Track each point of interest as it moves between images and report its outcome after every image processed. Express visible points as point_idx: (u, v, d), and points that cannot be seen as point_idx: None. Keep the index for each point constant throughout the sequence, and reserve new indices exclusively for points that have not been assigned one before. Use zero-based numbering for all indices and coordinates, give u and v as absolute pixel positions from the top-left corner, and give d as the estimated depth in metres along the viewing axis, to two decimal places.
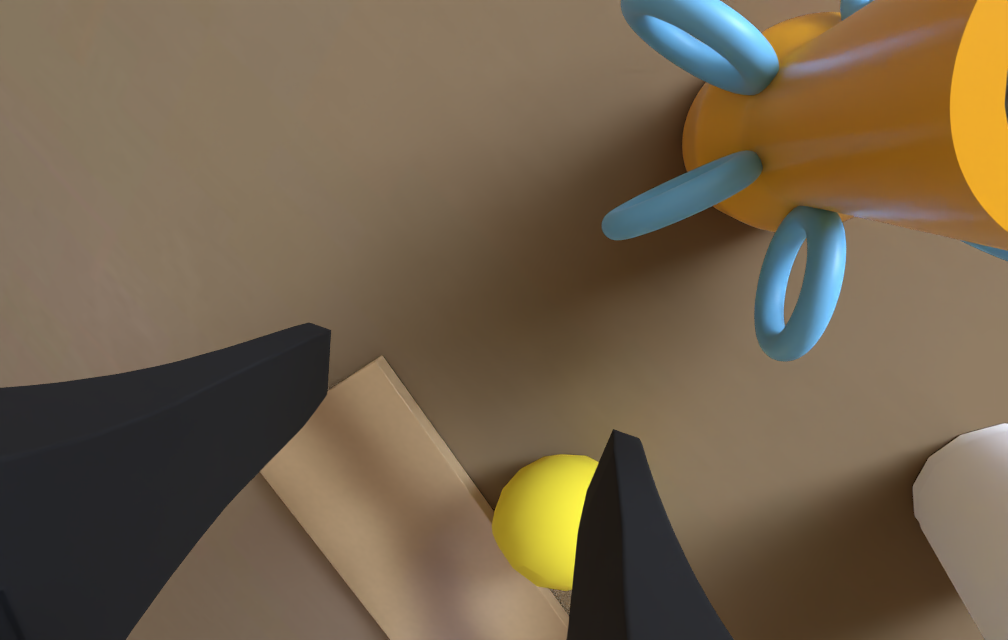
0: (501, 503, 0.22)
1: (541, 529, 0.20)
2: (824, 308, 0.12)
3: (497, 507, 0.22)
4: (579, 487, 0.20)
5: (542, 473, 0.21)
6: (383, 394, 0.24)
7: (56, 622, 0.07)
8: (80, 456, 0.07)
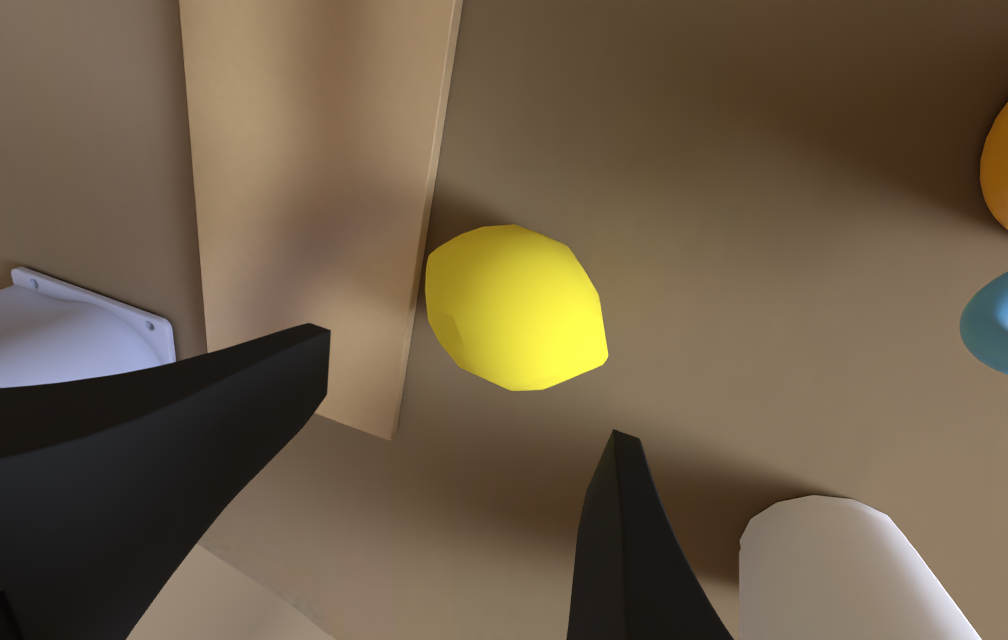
0: (472, 239, 0.16)
1: (507, 299, 0.15)
2: None
3: (462, 239, 0.16)
4: (574, 294, 0.15)
5: (546, 249, 0.16)
6: None
7: (56, 622, 0.07)
8: (80, 456, 0.07)
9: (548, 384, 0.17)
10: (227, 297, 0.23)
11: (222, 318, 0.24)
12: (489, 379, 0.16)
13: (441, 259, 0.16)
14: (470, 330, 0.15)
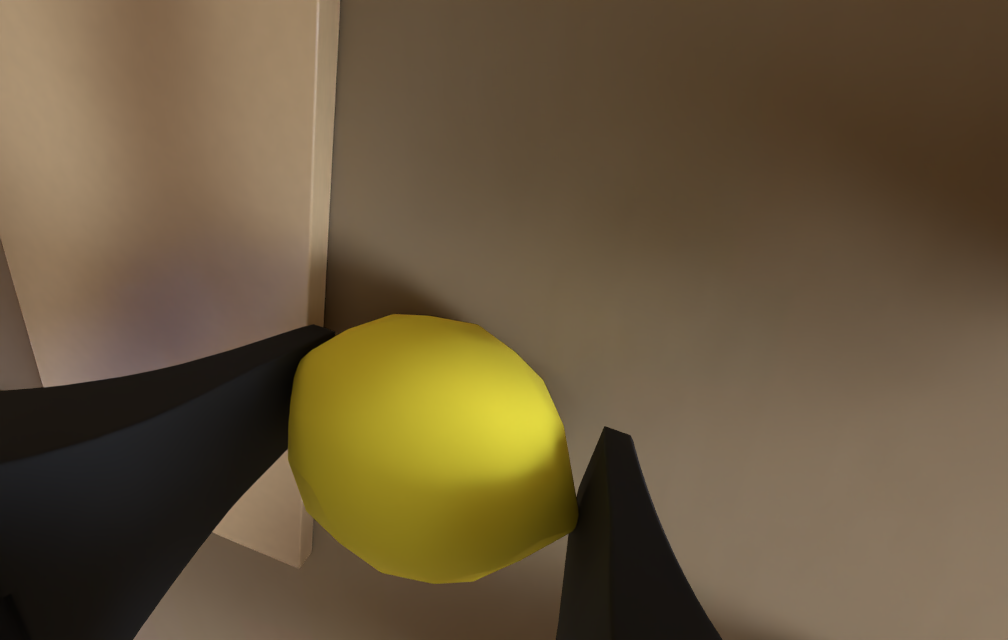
0: (354, 348, 0.10)
1: (396, 468, 0.09)
2: None
3: (340, 345, 0.10)
4: (517, 447, 0.09)
5: (472, 368, 0.10)
6: None
7: (63, 625, 0.07)
8: (87, 459, 0.07)
9: (481, 576, 0.10)
10: (70, 382, 0.17)
11: None
12: (384, 572, 0.10)
13: (305, 379, 0.10)
14: (340, 511, 0.09)
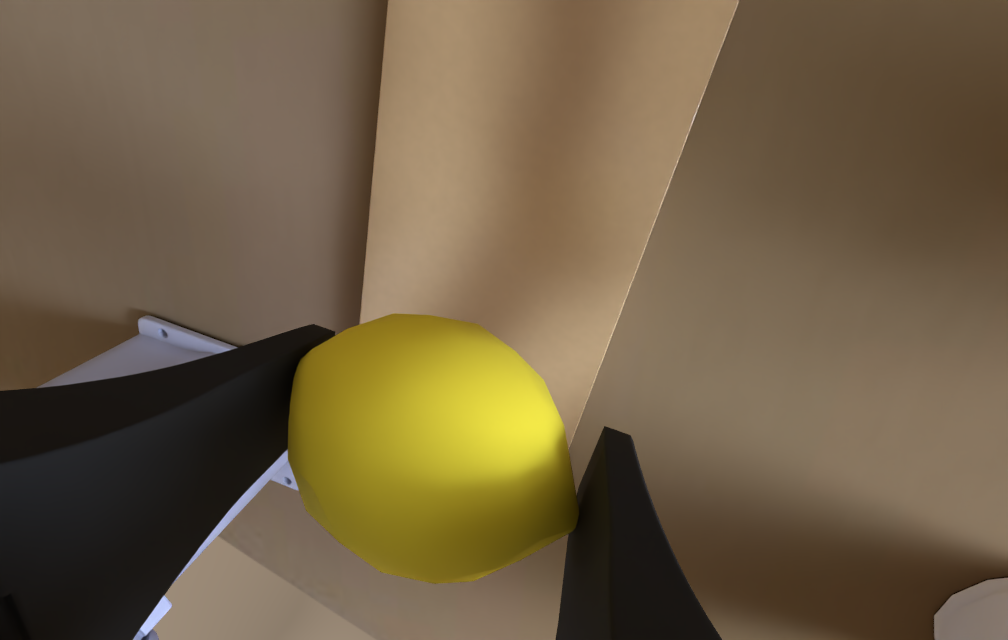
0: (354, 347, 0.10)
1: (397, 467, 0.09)
2: None
3: (340, 345, 0.10)
4: (517, 447, 0.09)
5: (472, 367, 0.09)
6: (691, 56, 0.14)
7: (62, 625, 0.07)
8: (87, 459, 0.07)
9: (481, 575, 0.10)
10: None
11: None
12: (385, 572, 0.10)
13: (305, 378, 0.10)
14: (340, 511, 0.09)
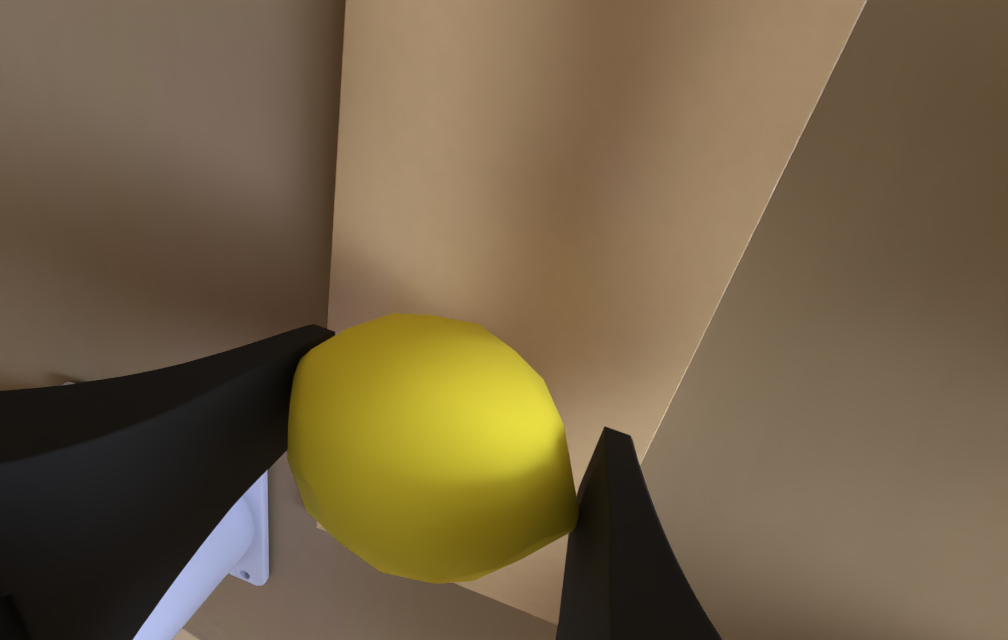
0: (353, 347, 0.10)
1: (396, 467, 0.09)
2: None
3: (340, 345, 0.10)
4: (517, 447, 0.09)
5: (472, 367, 0.09)
6: (788, 77, 0.10)
7: (62, 625, 0.07)
8: (87, 459, 0.07)
9: (481, 575, 0.10)
10: None
11: None
12: (384, 572, 0.10)
13: (304, 378, 0.10)
14: (339, 511, 0.09)
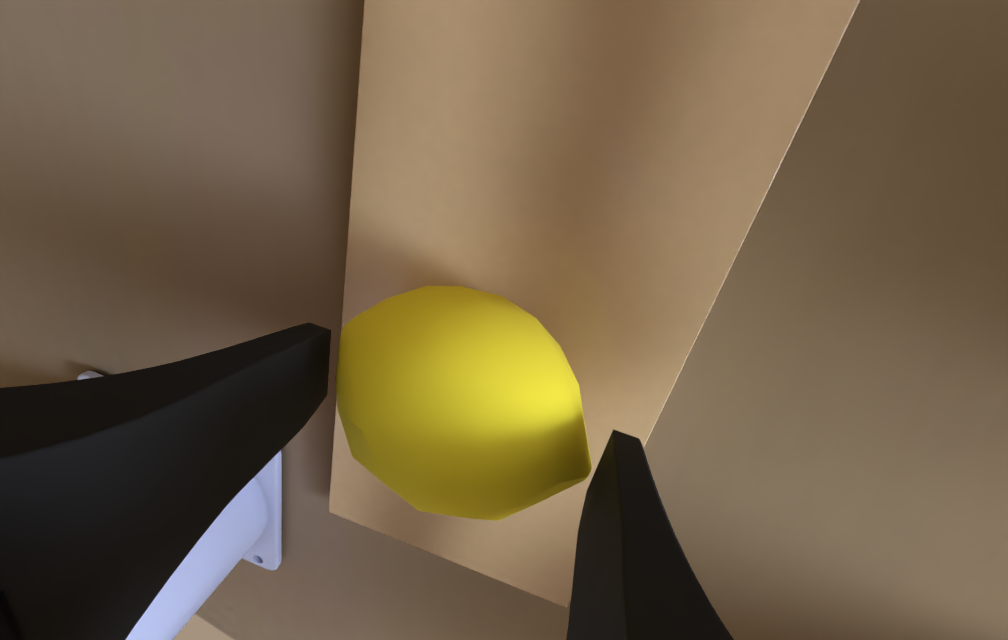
0: (396, 312, 0.11)
1: (438, 412, 0.10)
2: None
3: (383, 310, 0.12)
4: (540, 398, 0.11)
5: (501, 329, 0.11)
6: (785, 73, 0.10)
7: (56, 622, 0.07)
8: (80, 456, 0.07)
9: (506, 515, 0.12)
10: None
11: None
12: None
13: (352, 340, 0.11)
14: (387, 451, 0.10)
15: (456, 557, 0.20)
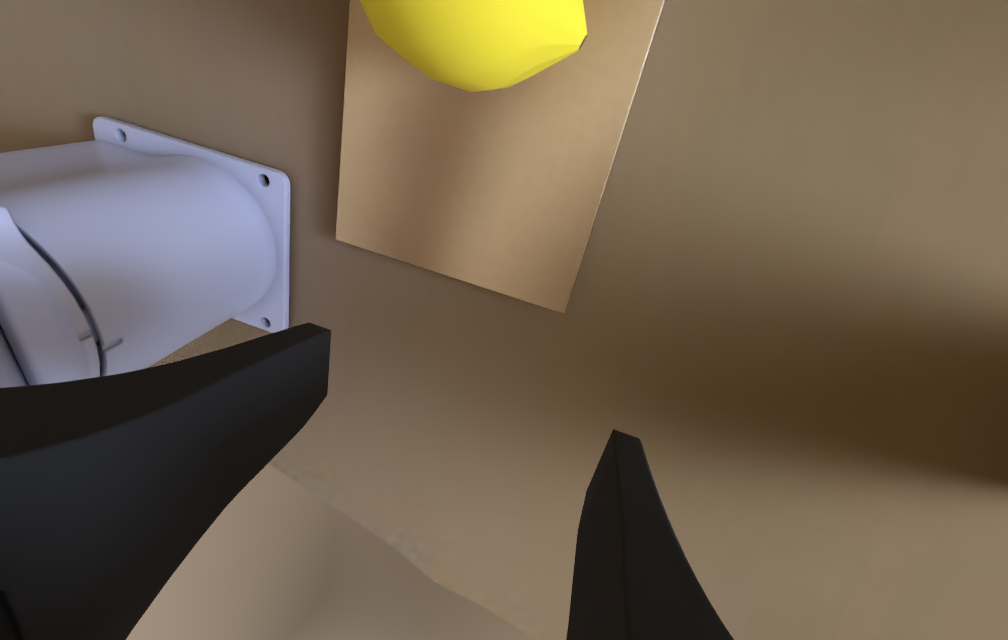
0: None
1: None
2: None
3: None
4: None
5: None
6: None
7: (56, 622, 0.07)
8: (80, 456, 0.07)
9: (507, 53, 0.13)
10: (375, 126, 0.19)
11: (364, 157, 0.19)
12: (429, 39, 0.12)
13: None
14: None
15: (458, 271, 0.20)
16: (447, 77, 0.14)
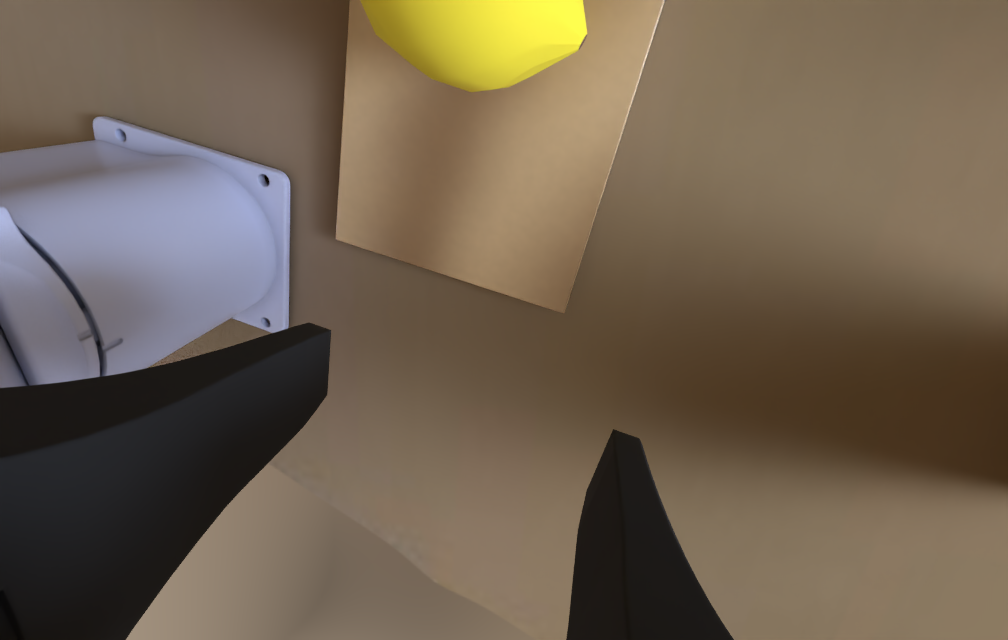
0: None
1: None
2: None
3: None
4: None
5: None
6: None
7: (56, 622, 0.07)
8: (80, 456, 0.07)
9: (507, 53, 0.13)
10: (375, 126, 0.19)
11: (364, 157, 0.19)
12: (429, 39, 0.12)
13: None
14: None
15: (458, 271, 0.20)
16: (447, 77, 0.14)
